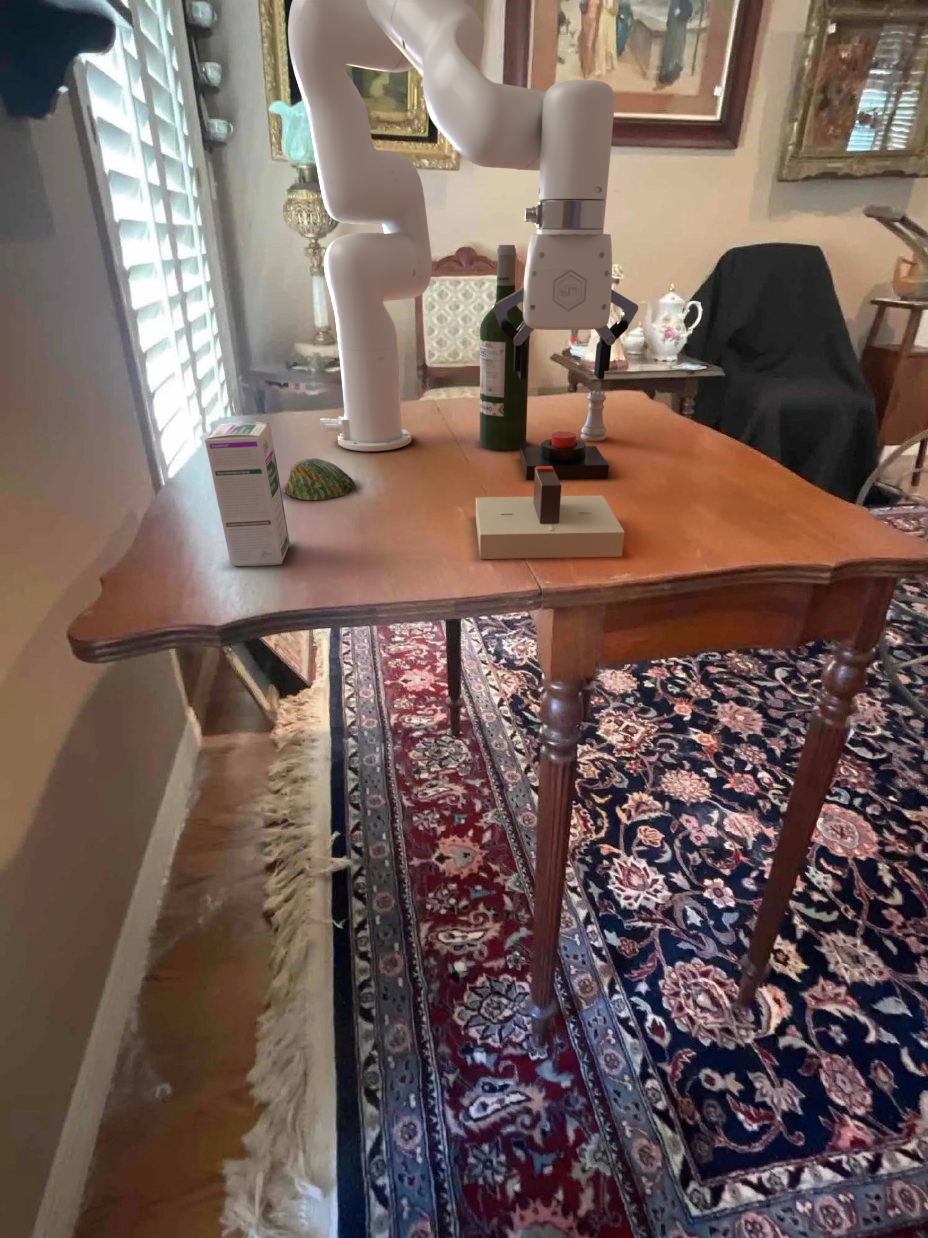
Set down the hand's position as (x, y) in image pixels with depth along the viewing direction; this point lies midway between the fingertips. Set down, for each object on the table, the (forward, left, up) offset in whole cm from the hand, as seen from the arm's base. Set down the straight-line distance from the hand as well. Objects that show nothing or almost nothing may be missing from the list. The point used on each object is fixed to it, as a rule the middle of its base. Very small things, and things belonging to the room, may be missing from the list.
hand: (560, 377), depth 86 cm
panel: (-3, -13, -16) cm, 21 cm away
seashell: (-33, +6, -16) cm, 37 cm away
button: (+3, +13, -12) cm, 18 cm away
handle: (-3, -13, -13) cm, 19 cm away
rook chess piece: (+11, +30, -16) cm, 36 cm away
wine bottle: (-5, +27, -16) cm, 32 cm away
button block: (+3, +13, -16) cm, 21 cm away
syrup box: (-36, -17, -16) cm, 43 cm away
